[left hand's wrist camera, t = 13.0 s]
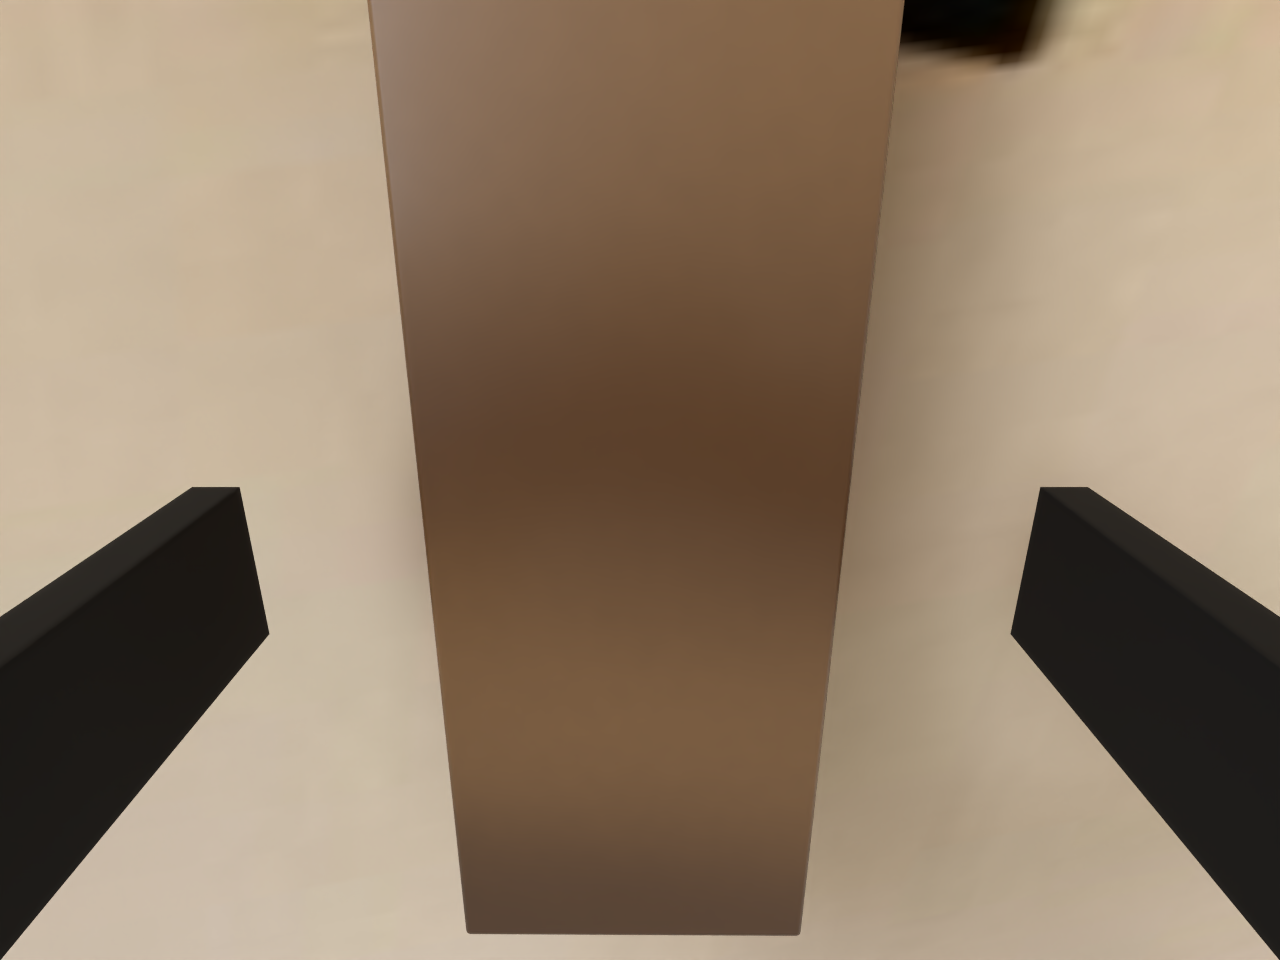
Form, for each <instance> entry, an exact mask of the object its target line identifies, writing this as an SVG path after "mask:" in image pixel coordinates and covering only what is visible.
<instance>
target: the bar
mask: <svg viewBox="0 0 1280 960" xmlns="http://www.w3.org/2000/svg"><path fill="white" fill-rule="evenodd" d="M367 1H368V10H369V20H370V29H371V38H372V48H373V57H374V67H375V76H376V85H377V95H378V104H379V114H380V123H381V132H382V142H383V151H384V161H385V170H386V179H387V189H388V198H389V208H390V217H391V226H392V236H393V245H394V255H395V264H396V273H397V283H398V292H399V302H400V311H401V320H402V330H403V339H404V349H405V358H406V367H407V377H408V386H409V395H410V405H411V414H412V424H413V433H414V442H415V452H416V461H417V471H418V480H419V489H420V499H421V508H422V518H423V527H424V536H425V546H426V555H427V565H428V574H429V583H430V593H431V602H432V612H433V621H434V630H435V640H436V649H437V659H438V668H439V677H440V687H441V696H442V706H443V715H444V724H445V734H446V743H447V753H448V762H449V771H450V781H451V790H452V799H453V809H454V818H455V828H456V837H457V846H458V856H459V865H460V875H461V884H462V893H463V903H464V912H465V922H466V930H467V932H468V933H469V934H577V935H762V936H797V935H799V934H800V931H801V922H802V913H803V904H804V895H805V887H806V878H807V869H808V860H809V851H810V842H811V833H812V824H813V815H814V806H815V797H816V788H817V779H818V770H819V761H820V752H821V743H822V734H823V725H824V716H825V707H826V698H827V689H828V680H829V672H830V663H831V654H832V645H833V636H834V627H835V618H836V609H837V600H838V591H839V582H840V573H841V564H842V555H843V546H844V537H845V528H846V519H847V510H848V501H849V492H850V483H851V474H852V465H853V457H854V448H855V439H856V430H857V421H858V412H859V403H860V394H861V385H862V376H863V367H864V358H865V349H866V340H867V331H868V322H869V313H870V304H871V295H872V286H873V277H874V268H875V259H876V251H877V242H878V233H879V224H880V215H881V206H882V197H883V188H884V179H885V170H886V161H887V152H888V143H889V134H890V125H891V116H892V107H893V98H894V89H895V80H896V71H897V62H898V53H899V44H900V36H901V27H902V18H903V9H904V0H367Z"/></svg>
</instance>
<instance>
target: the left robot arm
mask: <svg viewBox="0 0 1280 960" xmlns="http://www.w3.org/2000/svg"><path fill="white" fill-rule="evenodd" d="M268 635H269V630H268V625H267V620H266V615H265V610H264V605H263V600H262V595H261V590H260V586H259V581H258V576H257V571H256V566H255V561H254V556H253V551H252V546H251V541H250V536H249V531H248V526H247V522H246V517H245V512H244V507H243V502H242V497H241V492H240V487H192V488H190V489H189V490H187V491H186V492H184V493H183V494H181V495H180V496H178V497H177V498H175V499H174V500H172V501H171V502H170V503H168V504H167V505H165V506H164V507H162V508H161V509H159V510H158V511H156V512H155V513H153V514H152V515H150V516H149V517H147V518H146V519H144V520H143V521H141V522H140V523H138V524H137V525H136V526H134V527H133V528H131V529H130V530H128V531H127V532H125V533H124V534H122V535H121V536H119V537H118V538H116V539H115V540H113V541H112V542H110V543H109V544H107V545H106V546H104V547H103V548H101V549H100V550H99V551H97V552H96V553H94V554H93V555H91V556H90V557H88V558H87V559H85V560H84V561H82V562H81V563H79V564H78V565H76V566H75V567H73V568H72V569H70V570H69V571H67V572H66V573H65V574H63V575H62V576H60V577H59V578H57V579H56V580H54V581H53V582H51V583H50V584H48V585H47V586H45V587H44V588H42V589H41V590H39V591H38V592H36V593H35V594H33V595H32V596H30V597H29V598H28V599H26V600H25V601H23V602H22V603H20V604H19V605H17V606H16V607H14V608H13V609H11V610H10V611H8V612H7V613H5V614H4V615H2V616H1V617H0V960H1V959H2V958H3V956H4V955H5V954H6V953H7V951H8V950H9V949H10V948H11V947H12V945H13V944H14V943H15V942H16V941H17V939H18V938H19V937H20V936H21V934H22V933H23V932H24V931H25V930H26V928H27V927H28V926H29V925H30V924H31V922H32V921H33V920H34V919H35V918H36V916H37V915H38V914H39V913H40V911H41V910H42V909H43V908H44V907H45V905H46V904H47V903H48V902H49V901H50V899H51V898H52V897H53V896H54V894H55V893H56V892H57V891H58V890H59V888H60V887H61V886H62V885H63V884H64V882H65V881H66V880H67V879H68V877H69V876H70V875H71V874H72V873H73V871H74V870H75V869H76V868H77V867H78V865H79V864H80V863H81V862H82V861H83V859H84V858H85V857H86V856H87V854H88V853H89V852H90V851H91V850H92V848H93V847H94V846H95V845H96V844H97V842H98V841H99V840H100V839H101V837H102V836H103V835H104V834H105V833H106V831H107V830H108V829H109V828H110V827H111V825H112V824H113V823H114V822H115V820H116V819H117V818H118V817H119V816H120V814H121V813H122V812H123V811H124V810H125V808H126V807H127V806H128V805H129V804H130V802H131V801H132V800H133V799H134V797H135V796H136V795H137V794H138V793H139V791H140V790H141V789H142V788H143V787H144V785H145V784H146V783H147V782H148V780H149V779H150V778H151V777H152V776H153V774H154V773H155V772H156V771H157V770H158V768H159V767H160V766H161V765H162V764H163V762H164V761H165V760H166V759H167V757H168V756H169V755H170V754H171V753H172V751H173V750H174V749H175V748H176V747H177V745H178V744H179V743H180V742H181V740H182V739H183V738H184V737H185V736H186V734H187V733H188V732H189V731H190V730H191V728H192V727H193V726H194V725H195V723H196V722H197V721H198V720H199V719H200V717H201V716H202V715H203V714H204V713H205V711H206V710H207V709H208V708H209V707H210V705H211V704H212V703H213V702H214V700H215V699H216V698H217V697H218V696H219V694H220V693H221V692H222V691H223V690H224V688H225V687H226V686H227V685H228V683H229V682H230V681H231V680H232V679H233V677H234V676H235V675H236V674H237V673H238V671H239V670H240V669H241V668H242V666H243V665H244V664H245V663H246V662H247V660H248V659H249V658H250V657H251V656H252V654H253V653H254V652H255V651H256V650H257V648H258V647H259V646H260V645H261V643H262V642H263V641H264V640H265V639H266V637H267V636H268ZM1011 635H1012V636H1013V637H1014V639H1015V640H1016V641H1017V642H1018V643H1019V645H1020V646H1021V647H1022V648H1023V650H1024V651H1025V652H1026V653H1027V654H1028V656H1029V657H1030V658H1031V659H1032V660H1033V662H1034V663H1035V664H1036V665H1037V667H1038V668H1039V669H1040V670H1041V671H1042V673H1043V674H1044V675H1045V676H1046V677H1047V679H1048V680H1049V681H1050V682H1051V683H1052V685H1053V686H1054V687H1055V688H1056V690H1057V691H1058V692H1059V693H1060V694H1061V696H1062V697H1063V698H1064V699H1065V700H1066V702H1067V703H1068V704H1069V705H1070V707H1071V708H1072V709H1073V710H1074V711H1075V713H1076V714H1077V715H1078V716H1079V717H1080V719H1081V720H1082V721H1083V722H1084V724H1085V725H1086V726H1087V727H1088V728H1089V730H1090V731H1091V732H1092V733H1093V734H1094V736H1095V737H1096V738H1097V739H1098V740H1099V742H1100V743H1101V744H1102V745H1103V747H1104V748H1105V749H1106V750H1107V751H1108V753H1109V754H1110V755H1111V756H1112V757H1113V759H1114V760H1115V761H1116V762H1117V764H1118V765H1119V766H1120V767H1121V768H1122V770H1123V771H1124V772H1125V773H1126V774H1127V776H1128V777H1129V778H1130V779H1131V781H1132V782H1133V783H1134V784H1135V785H1136V787H1137V788H1138V789H1139V790H1140V791H1141V793H1142V794H1143V795H1144V796H1145V797H1146V799H1147V800H1148V801H1149V802H1150V804H1151V805H1152V806H1153V807H1154V808H1155V810H1156V811H1157V812H1158V813H1159V814H1160V816H1161V817H1162V818H1163V819H1164V821H1165V822H1166V823H1167V824H1168V825H1169V827H1170V828H1171V829H1172V830H1173V831H1174V833H1175V834H1176V835H1177V836H1178V837H1179V839H1180V840H1181V841H1182V842H1183V844H1184V845H1185V846H1186V847H1187V848H1188V850H1189V851H1190V852H1191V853H1192V854H1193V856H1194V857H1195V858H1196V859H1197V861H1198V862H1199V863H1200V864H1201V865H1202V867H1203V868H1204V869H1205V870H1206V871H1207V873H1208V874H1209V875H1210V876H1211V878H1212V879H1213V880H1214V881H1215V882H1216V884H1217V885H1218V886H1219V887H1220V888H1221V890H1222V891H1223V892H1224V893H1225V894H1226V896H1227V897H1228V898H1229V899H1230V901H1231V902H1232V903H1233V904H1234V905H1235V907H1236V908H1237V909H1238V910H1239V911H1240V913H1241V914H1242V915H1243V916H1244V918H1245V919H1246V920H1247V921H1248V922H1249V924H1250V925H1251V926H1252V927H1253V928H1254V930H1255V931H1256V932H1257V933H1258V935H1259V936H1260V937H1261V938H1262V939H1263V941H1264V942H1265V943H1266V944H1267V945H1268V947H1269V948H1270V949H1271V950H1272V951H1273V953H1274V954H1275V955H1276V956H1277V958H1278V959H1279V960H1280V617H1279V616H1278V615H1276V614H1275V613H1273V612H1272V611H1270V610H1269V609H1267V608H1266V607H1264V606H1263V605H1261V604H1260V603H1258V602H1257V601H1255V600H1254V599H1252V598H1251V597H1249V596H1248V595H1247V594H1245V593H1244V592H1242V591H1241V590H1239V589H1238V588H1236V587H1235V586H1233V585H1232V584H1230V583H1229V582H1227V581H1226V580H1224V579H1223V578H1221V577H1220V576H1218V575H1217V574H1215V573H1214V572H1213V571H1211V570H1210V569H1208V568H1207V567H1205V566H1204V565H1202V564H1201V563H1199V562H1198V561H1196V560H1195V559H1193V558H1192V557H1190V556H1189V555H1187V554H1186V553H1184V552H1183V551H1181V550H1180V549H1178V548H1177V547H1176V546H1174V545H1173V544H1171V543H1170V542H1168V541H1167V540H1165V539H1164V538H1162V537H1161V536H1159V535H1158V534H1156V533H1155V532H1153V531H1152V530H1150V529H1149V528H1147V527H1146V526H1144V525H1143V524H1142V523H1140V522H1139V521H1137V520H1136V519H1134V518H1133V517H1131V516H1130V515H1128V514H1127V513H1125V512H1124V511H1122V510H1121V509H1119V508H1118V507H1116V506H1115V505H1113V504H1112V503H1110V502H1109V501H1107V500H1106V499H1105V498H1103V497H1102V496H1100V495H1099V494H1097V493H1096V492H1094V491H1093V490H1091V489H1090V488H1088V487H1040V492H1039V497H1038V502H1037V507H1036V512H1035V516H1034V521H1033V526H1032V531H1031V536H1030V541H1029V546H1028V551H1027V556H1026V561H1025V566H1024V571H1023V576H1022V580H1021V585H1020V590H1019V595H1018V600H1017V605H1016V610H1015V615H1014V620H1013V625H1012V630H1011Z"/></svg>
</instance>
